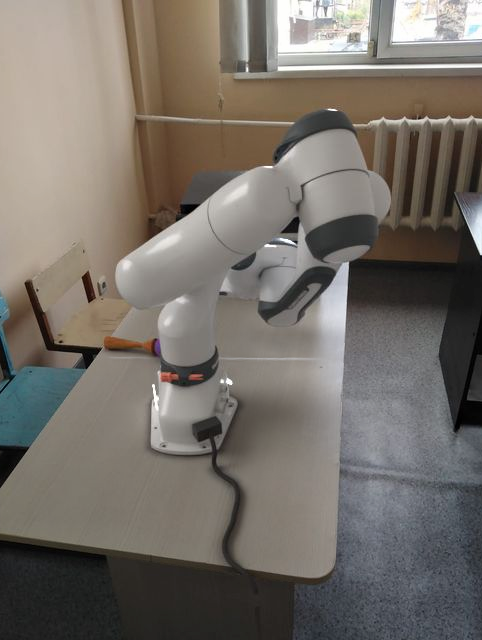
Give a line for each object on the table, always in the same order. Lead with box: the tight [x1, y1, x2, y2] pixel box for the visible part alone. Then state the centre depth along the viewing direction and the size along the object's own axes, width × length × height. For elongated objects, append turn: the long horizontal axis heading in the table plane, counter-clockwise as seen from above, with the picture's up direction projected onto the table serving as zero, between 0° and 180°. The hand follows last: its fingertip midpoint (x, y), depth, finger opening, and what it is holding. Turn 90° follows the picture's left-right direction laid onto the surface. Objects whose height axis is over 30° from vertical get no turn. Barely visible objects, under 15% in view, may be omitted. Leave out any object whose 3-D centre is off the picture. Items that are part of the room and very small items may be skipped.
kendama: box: [103, 335, 161, 358], centre depth 135 cm, size 6×6×20 cm
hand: (250, 297), depth 140 cm, fingers closed
